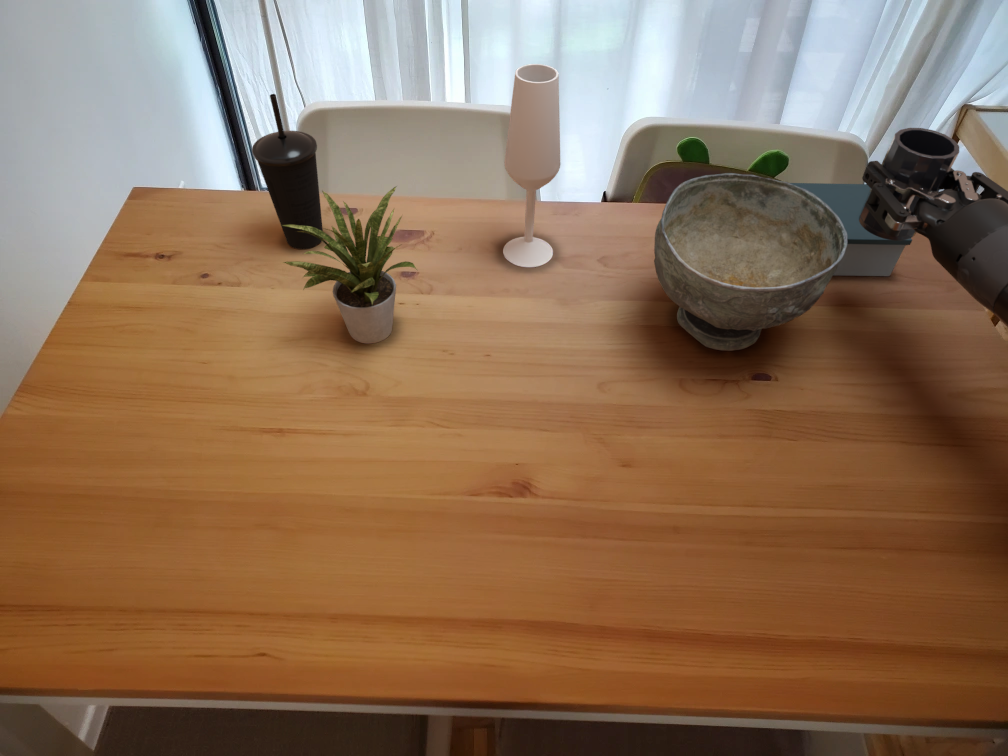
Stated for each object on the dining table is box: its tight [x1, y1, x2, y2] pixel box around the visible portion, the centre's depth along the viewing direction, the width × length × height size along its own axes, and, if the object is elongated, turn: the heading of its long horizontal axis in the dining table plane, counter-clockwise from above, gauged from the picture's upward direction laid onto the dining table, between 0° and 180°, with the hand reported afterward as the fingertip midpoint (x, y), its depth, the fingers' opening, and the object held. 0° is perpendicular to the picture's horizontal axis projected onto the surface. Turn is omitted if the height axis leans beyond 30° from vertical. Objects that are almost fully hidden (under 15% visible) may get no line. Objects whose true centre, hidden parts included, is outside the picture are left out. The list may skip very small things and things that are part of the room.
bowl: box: [653, 172, 847, 352], centre depth 81 cm, size 20×19×15 cm
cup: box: [859, 127, 960, 240], centre depth 77 cm, size 6×6×10 cm
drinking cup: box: [251, 93, 324, 250], centre depth 90 cm, size 8×8×20 cm
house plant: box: [282, 186, 418, 344], centre depth 80 cm, size 14×14×16 cm
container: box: [789, 182, 913, 277], centre depth 95 cm, size 13×13×6 cm
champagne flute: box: [502, 63, 561, 268], centre depth 87 cm, size 7×7×24 cm
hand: (897, 165), depth 78 cm, fingers closed on cup, 6 cm apart
